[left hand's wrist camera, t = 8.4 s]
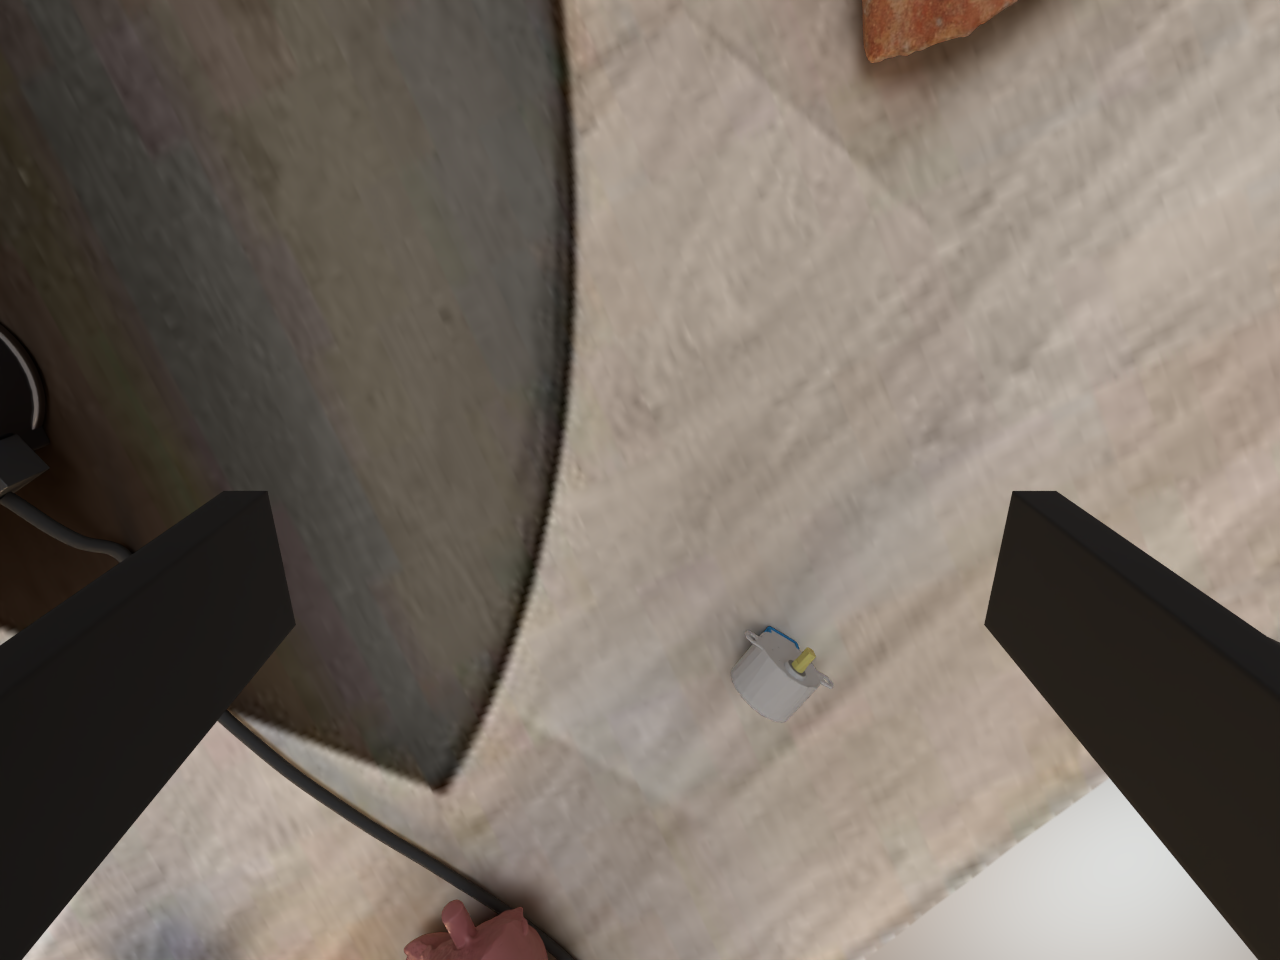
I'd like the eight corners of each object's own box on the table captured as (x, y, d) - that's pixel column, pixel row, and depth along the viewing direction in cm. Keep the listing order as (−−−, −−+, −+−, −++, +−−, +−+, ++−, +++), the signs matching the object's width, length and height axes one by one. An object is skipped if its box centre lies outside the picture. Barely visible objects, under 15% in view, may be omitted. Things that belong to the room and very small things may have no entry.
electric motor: (839, 641, 46) (861, 690, 41) (793, 690, 48) (810, 743, 43) (755, 590, 45) (768, 635, 40) (711, 643, 46) (719, 692, 42)
